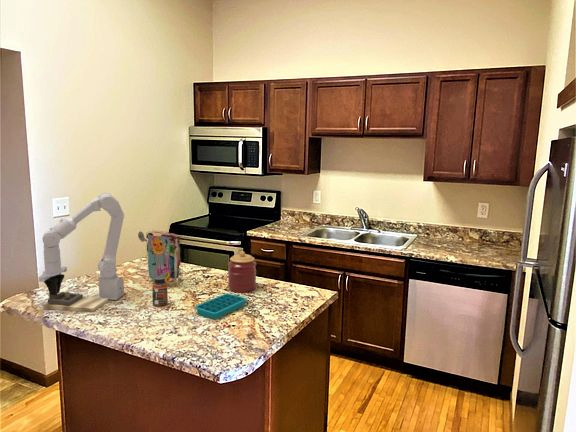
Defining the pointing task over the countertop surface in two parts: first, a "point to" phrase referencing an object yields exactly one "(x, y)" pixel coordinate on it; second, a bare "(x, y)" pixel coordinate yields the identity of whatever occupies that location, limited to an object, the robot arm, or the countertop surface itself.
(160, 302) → the supplement bottle
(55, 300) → the dark grey frame stand
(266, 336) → the countertop surface
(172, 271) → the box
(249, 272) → the canister
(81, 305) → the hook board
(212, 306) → the ice cube tray
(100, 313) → the countertop surface
